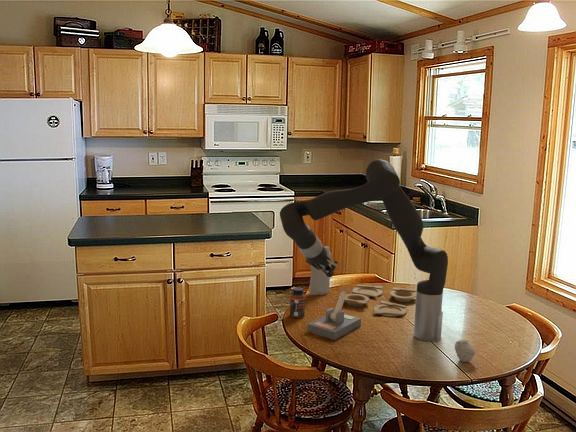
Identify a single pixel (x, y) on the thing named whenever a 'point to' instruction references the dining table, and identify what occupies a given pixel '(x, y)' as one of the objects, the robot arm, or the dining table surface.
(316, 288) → the tall pale column
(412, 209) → the robot arm
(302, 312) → the supplement bottle
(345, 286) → the breaker lever
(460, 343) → the frog figurine
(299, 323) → the dining table surface
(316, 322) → the switch block
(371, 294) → the tableware set
